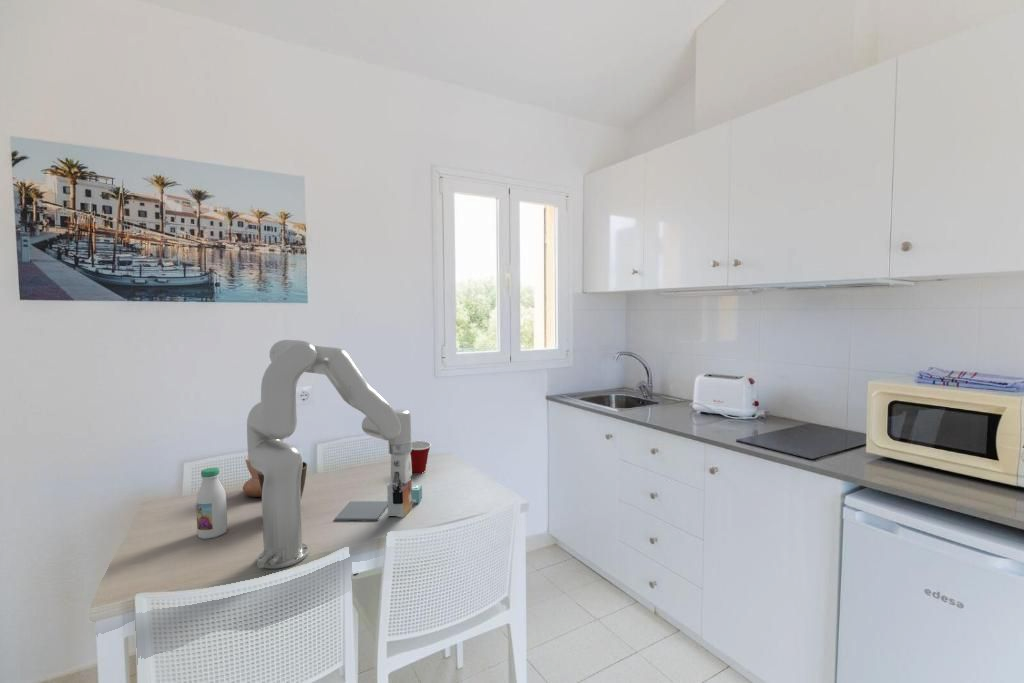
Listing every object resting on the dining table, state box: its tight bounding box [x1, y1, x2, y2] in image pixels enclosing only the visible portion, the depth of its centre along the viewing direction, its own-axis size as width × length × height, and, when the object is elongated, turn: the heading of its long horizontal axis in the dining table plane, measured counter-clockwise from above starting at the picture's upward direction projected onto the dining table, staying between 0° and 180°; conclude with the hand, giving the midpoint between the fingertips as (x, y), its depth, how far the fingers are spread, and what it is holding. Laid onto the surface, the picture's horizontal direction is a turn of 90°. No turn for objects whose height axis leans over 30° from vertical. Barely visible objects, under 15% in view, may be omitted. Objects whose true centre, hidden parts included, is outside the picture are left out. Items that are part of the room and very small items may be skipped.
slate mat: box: [334, 500, 388, 522], centre depth 159 cm, size 14×14×1 cm
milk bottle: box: [195, 467, 228, 540], centre depth 143 cm, size 8×8×20 cm
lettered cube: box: [412, 484, 423, 504], centre depth 168 cm, size 5×5×5 cm
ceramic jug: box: [242, 456, 262, 498], centre depth 177 cm, size 18×14×14 cm
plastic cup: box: [410, 440, 432, 474], centre depth 200 cm, size 11×11×12 cm
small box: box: [386, 478, 413, 518], centre depth 158 cm, size 8×6×10 cm
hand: (401, 497), depth 158 cm, fingers closed on small box, 8 cm apart
